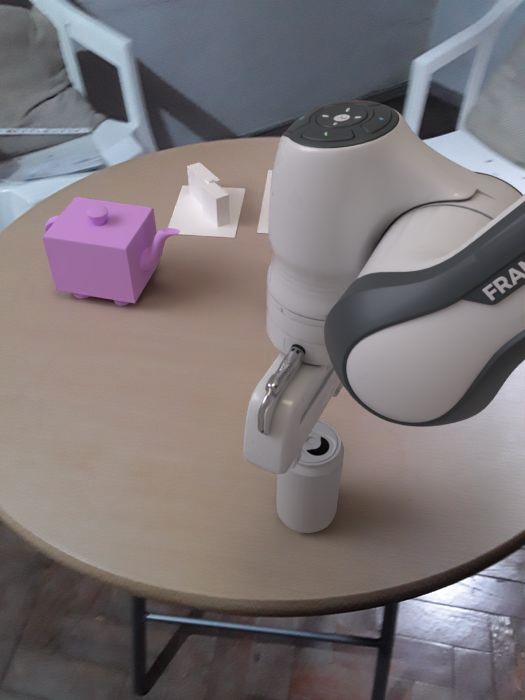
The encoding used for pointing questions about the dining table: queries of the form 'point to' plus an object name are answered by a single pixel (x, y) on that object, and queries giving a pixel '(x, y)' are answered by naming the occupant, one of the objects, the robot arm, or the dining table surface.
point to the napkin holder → (206, 205)
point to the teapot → (104, 249)
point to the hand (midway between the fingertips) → (311, 423)
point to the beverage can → (312, 482)
